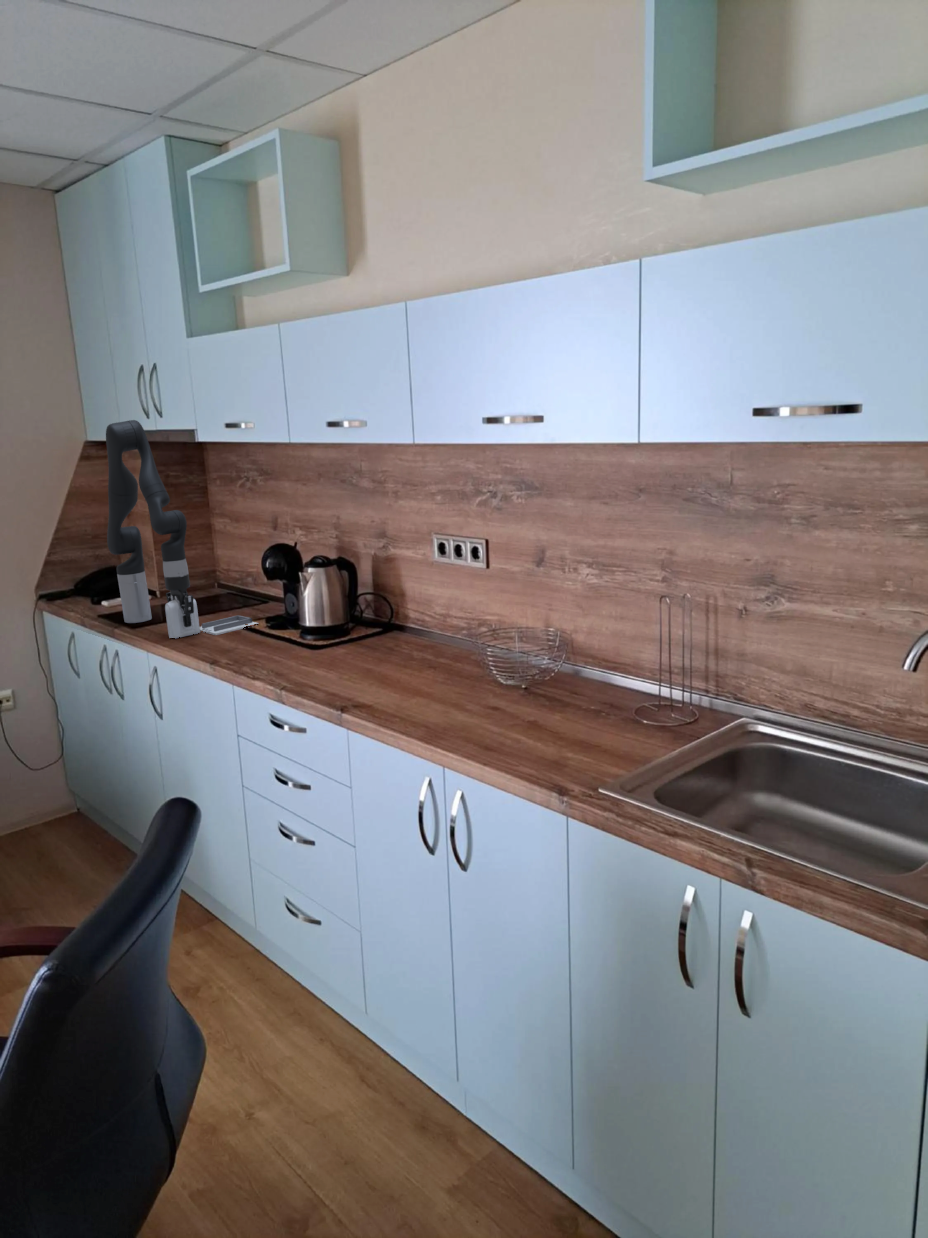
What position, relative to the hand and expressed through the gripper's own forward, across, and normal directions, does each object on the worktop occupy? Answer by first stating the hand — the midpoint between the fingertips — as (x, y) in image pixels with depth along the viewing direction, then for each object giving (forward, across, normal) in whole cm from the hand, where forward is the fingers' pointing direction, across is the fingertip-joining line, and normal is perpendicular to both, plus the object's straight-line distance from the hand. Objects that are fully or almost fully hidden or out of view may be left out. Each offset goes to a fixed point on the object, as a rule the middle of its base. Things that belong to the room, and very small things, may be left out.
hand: (183, 625), depth 289 cm
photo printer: (+4, 0, 0) cm, 4 cm away
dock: (+3, +2, +14) cm, 15 cm away
